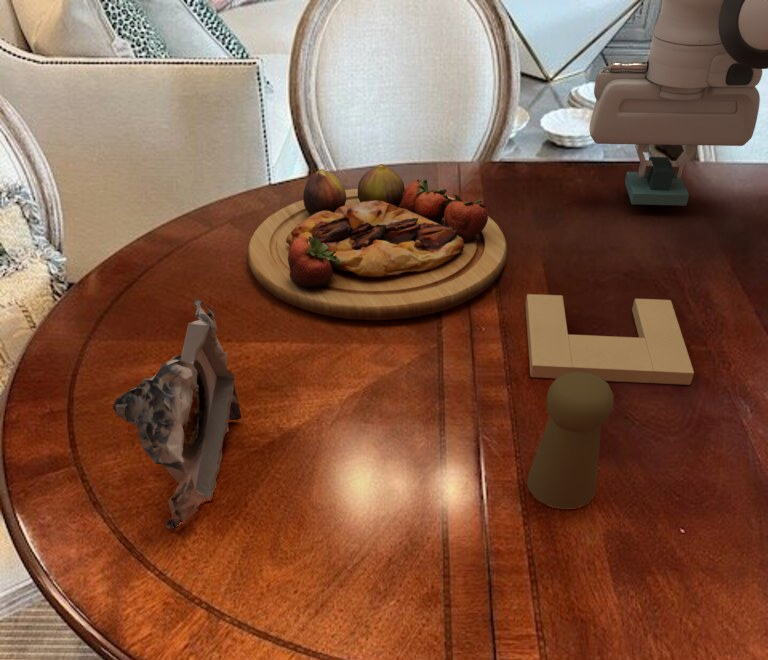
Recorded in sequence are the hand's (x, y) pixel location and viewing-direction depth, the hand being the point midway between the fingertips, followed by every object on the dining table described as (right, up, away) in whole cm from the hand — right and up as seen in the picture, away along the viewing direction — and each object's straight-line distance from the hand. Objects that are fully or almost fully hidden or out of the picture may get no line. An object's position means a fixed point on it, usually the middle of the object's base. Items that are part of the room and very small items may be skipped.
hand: (658, 176), depth 105 cm
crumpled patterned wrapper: (-53, -42, -35) cm, 76 cm away
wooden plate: (-38, -13, -7) cm, 41 cm away
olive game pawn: (-22, -43, -37) cm, 60 cm away
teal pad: (0, -2, +2) cm, 2 cm away
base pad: (-14, -27, -21) cm, 37 cm away
